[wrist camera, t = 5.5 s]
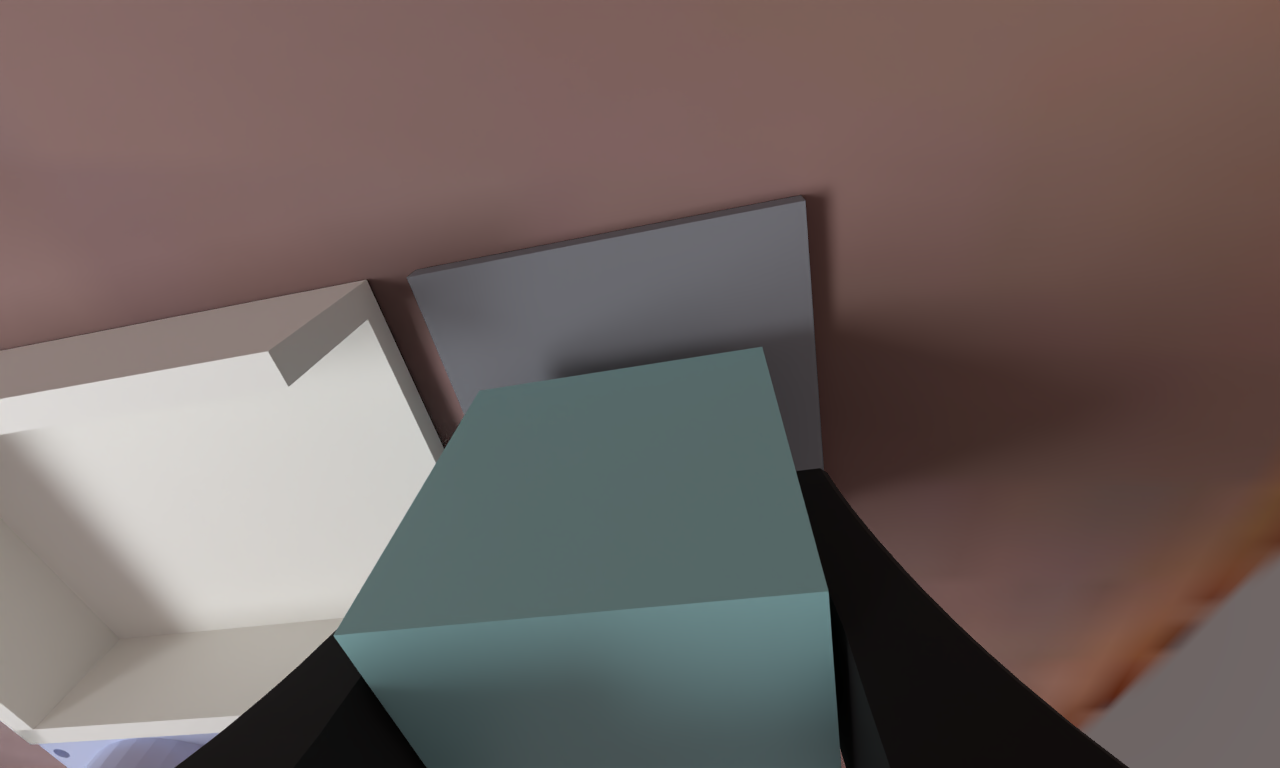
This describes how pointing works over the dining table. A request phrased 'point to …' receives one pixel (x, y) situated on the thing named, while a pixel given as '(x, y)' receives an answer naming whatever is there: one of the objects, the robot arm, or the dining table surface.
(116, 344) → the open box
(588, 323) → the charcoal mat
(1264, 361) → the dining table surface
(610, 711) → the teal block
